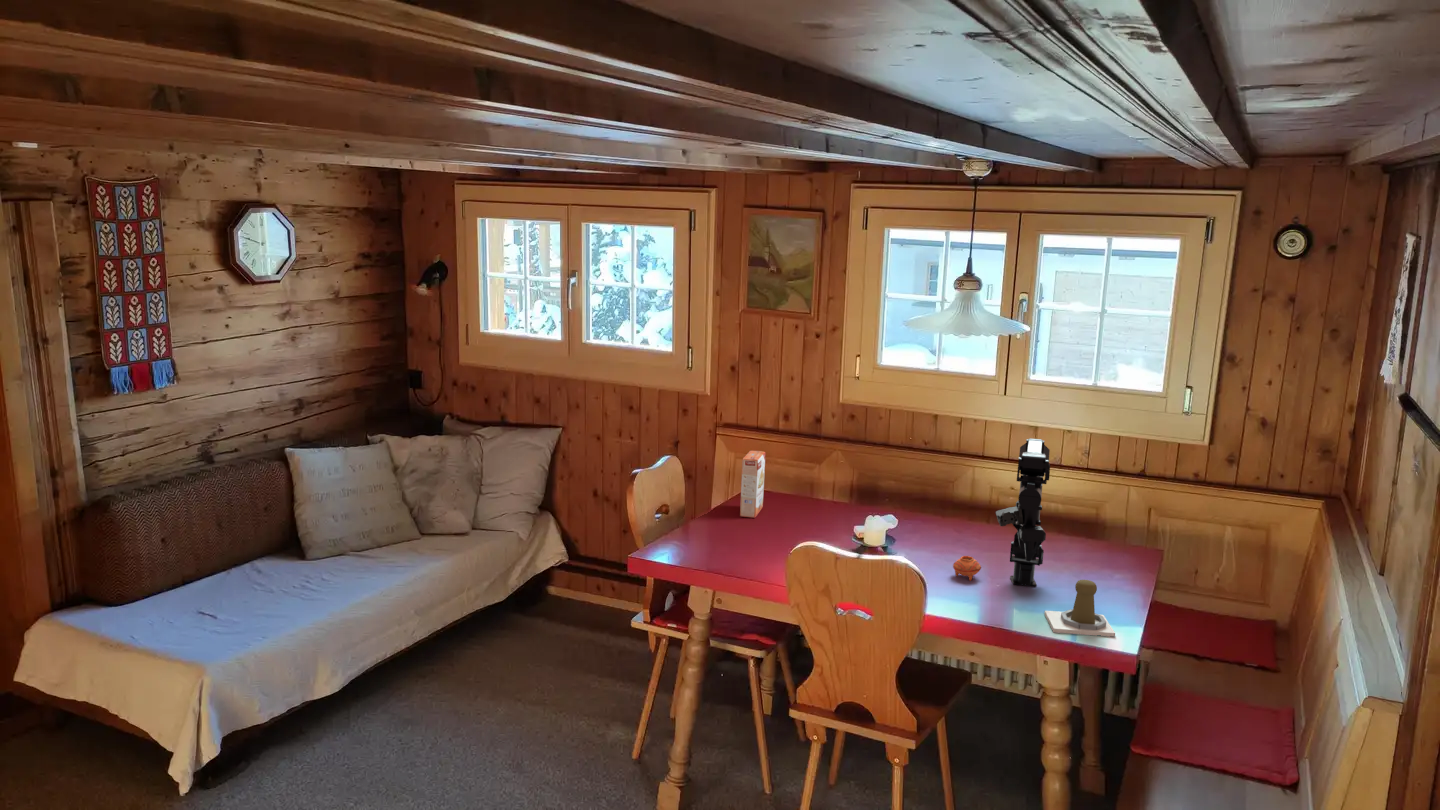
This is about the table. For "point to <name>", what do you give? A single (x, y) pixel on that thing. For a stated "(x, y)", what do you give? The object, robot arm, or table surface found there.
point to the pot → (966, 566)
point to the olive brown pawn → (1084, 602)
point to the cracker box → (752, 484)
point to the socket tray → (1078, 624)
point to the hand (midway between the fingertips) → (1025, 555)
